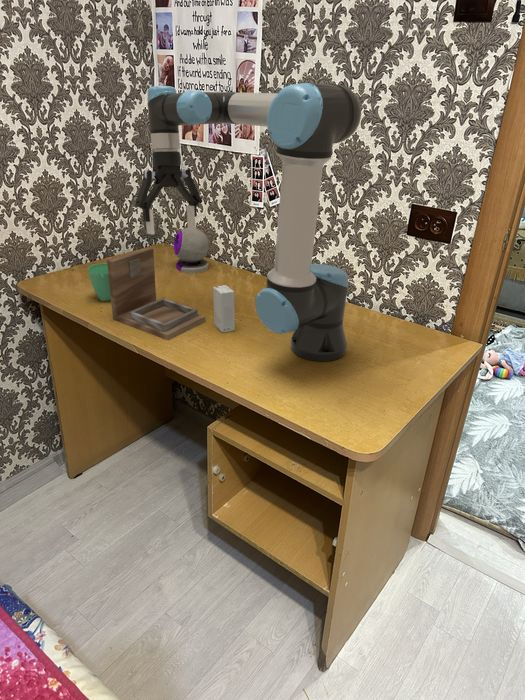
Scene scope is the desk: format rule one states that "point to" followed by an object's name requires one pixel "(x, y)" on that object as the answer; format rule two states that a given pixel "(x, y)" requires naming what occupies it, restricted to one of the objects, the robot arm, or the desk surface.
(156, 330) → the brown l-shaped piece
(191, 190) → the robot arm
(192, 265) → the webcam
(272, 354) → the desk surface
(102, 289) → the mug
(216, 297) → the skincare box
